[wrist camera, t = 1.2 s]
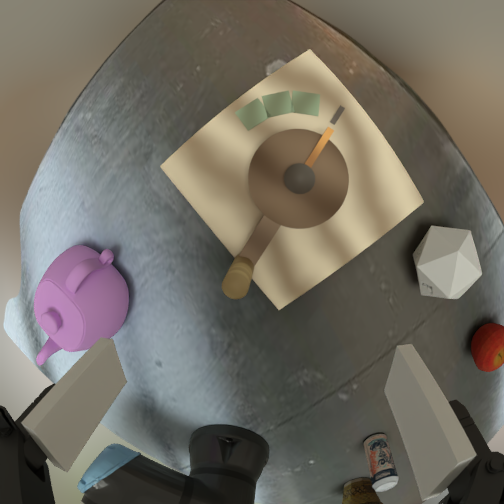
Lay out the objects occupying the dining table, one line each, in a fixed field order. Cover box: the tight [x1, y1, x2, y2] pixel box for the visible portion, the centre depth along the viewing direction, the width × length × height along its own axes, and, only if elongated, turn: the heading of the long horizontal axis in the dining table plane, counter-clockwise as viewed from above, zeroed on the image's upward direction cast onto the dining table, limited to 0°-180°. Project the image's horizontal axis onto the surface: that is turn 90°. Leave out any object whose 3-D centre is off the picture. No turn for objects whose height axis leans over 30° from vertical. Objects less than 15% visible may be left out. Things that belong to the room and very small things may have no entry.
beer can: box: [363, 434, 399, 492], centre depth 35 cm, size 5×5×12 cm
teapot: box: [34, 245, 129, 365], centre depth 32 cm, size 20×13×12 cm, turn 141°
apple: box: [471, 323, 504, 372], centre depth 30 cm, size 8×8×8 cm
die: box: [413, 226, 482, 299], centre depth 27 cm, size 8×9×10 cm
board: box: [160, 50, 424, 310], centre depth 30 cm, size 22×22×1 cm
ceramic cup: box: [342, 477, 383, 504], centre depth 42 cm, size 13×10×10 cm
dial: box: [222, 127, 349, 299], centre depth 26 cm, size 18×10×7 cm, turn 149°
